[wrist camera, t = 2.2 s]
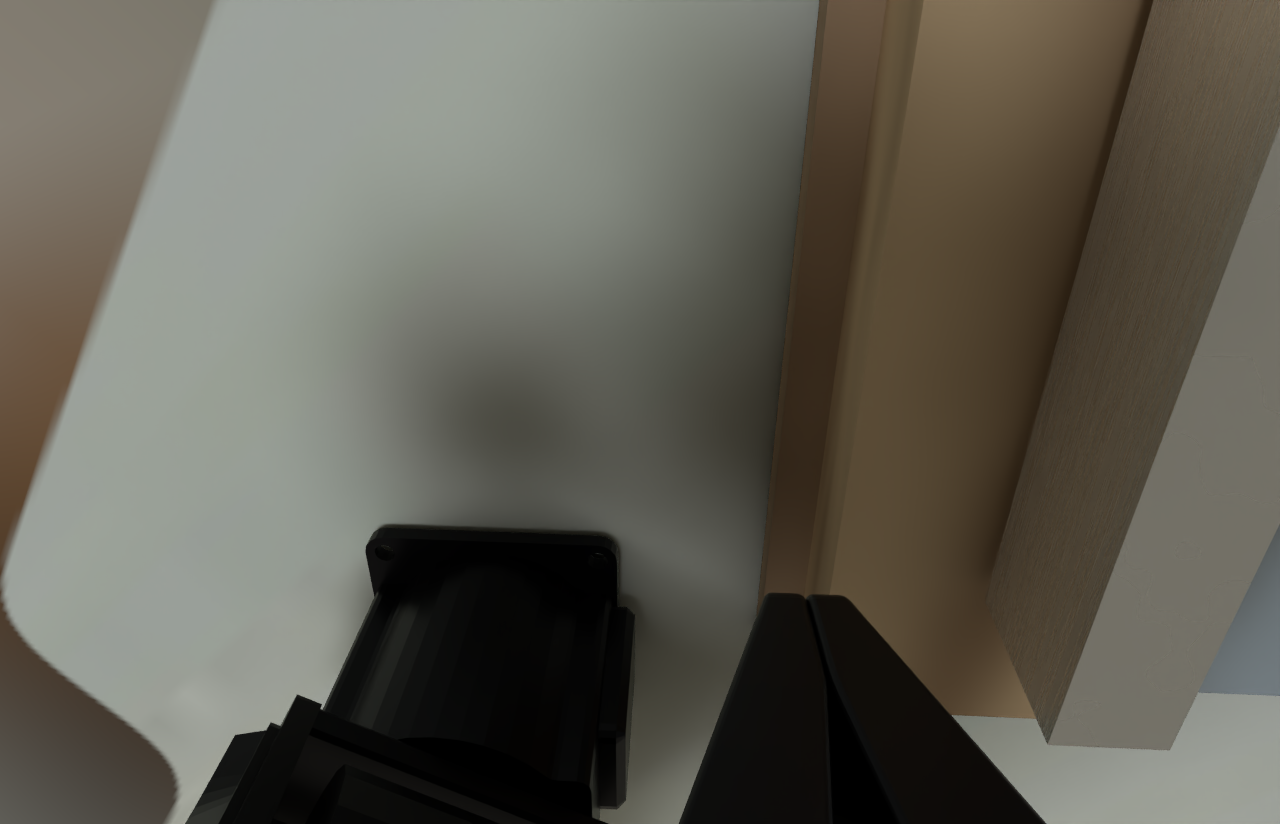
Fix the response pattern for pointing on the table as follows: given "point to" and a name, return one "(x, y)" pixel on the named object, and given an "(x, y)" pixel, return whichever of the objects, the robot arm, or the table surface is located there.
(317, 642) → the table surface
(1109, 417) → the lock bar
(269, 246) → the table surface
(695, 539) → the table surface
